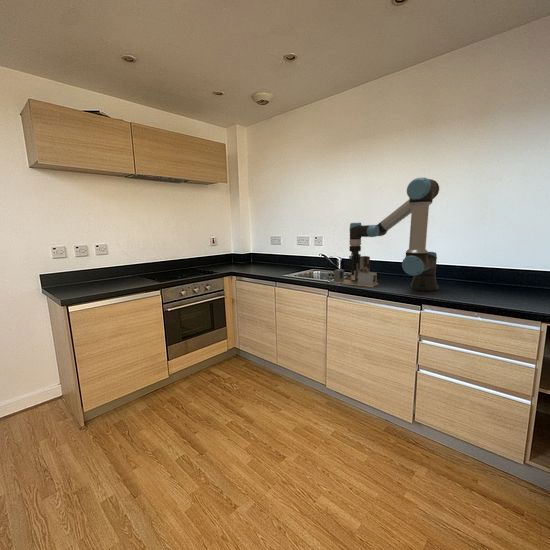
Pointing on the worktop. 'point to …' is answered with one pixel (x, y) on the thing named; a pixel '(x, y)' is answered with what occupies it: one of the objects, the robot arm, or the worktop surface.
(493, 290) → the worktop surface
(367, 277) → the guide
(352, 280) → the brown stepped block
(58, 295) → the worktop surface
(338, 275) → the socket
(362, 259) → the coffee box
